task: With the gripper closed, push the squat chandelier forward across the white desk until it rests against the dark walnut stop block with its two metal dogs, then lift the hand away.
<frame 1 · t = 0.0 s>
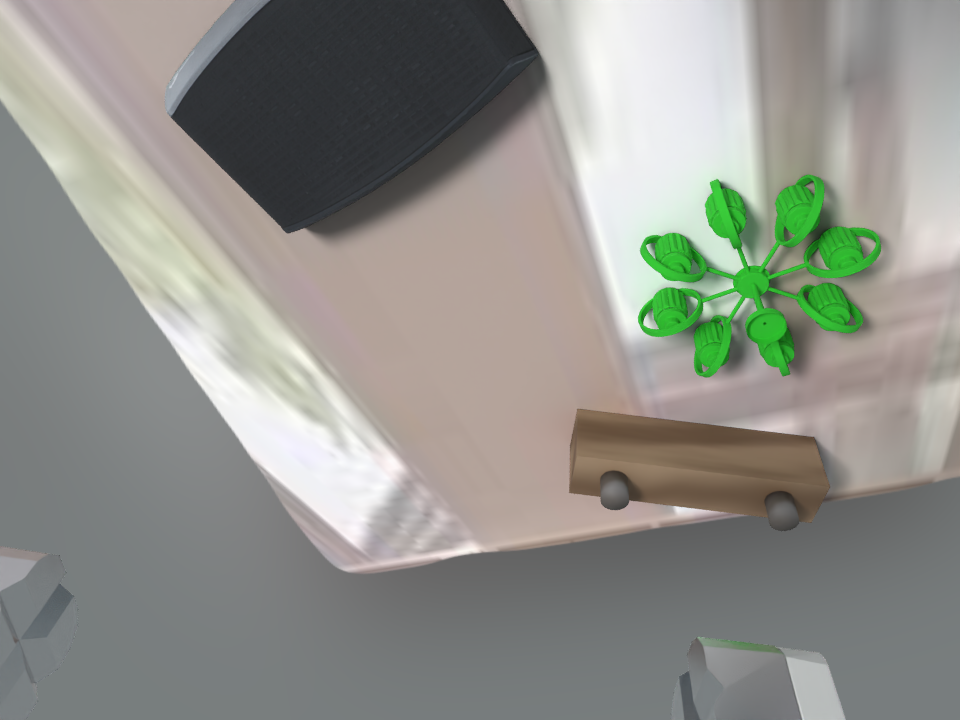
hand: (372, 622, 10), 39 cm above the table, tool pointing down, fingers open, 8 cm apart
external hard drive: (348, 66, 45), on the table
chandelier: (746, 264, 50), on the table
walnut stop block: (688, 441, 60), on the table
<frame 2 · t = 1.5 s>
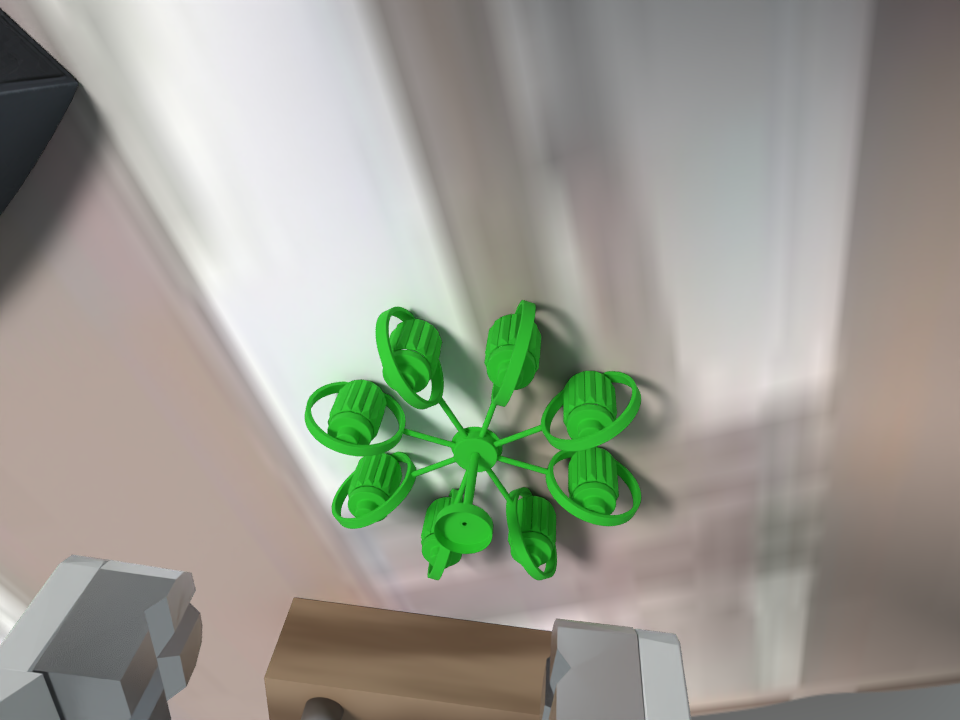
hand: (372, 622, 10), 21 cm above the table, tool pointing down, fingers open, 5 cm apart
chandelier: (481, 418, 35), on the table
walnut stop block: (452, 641, 44), on the table
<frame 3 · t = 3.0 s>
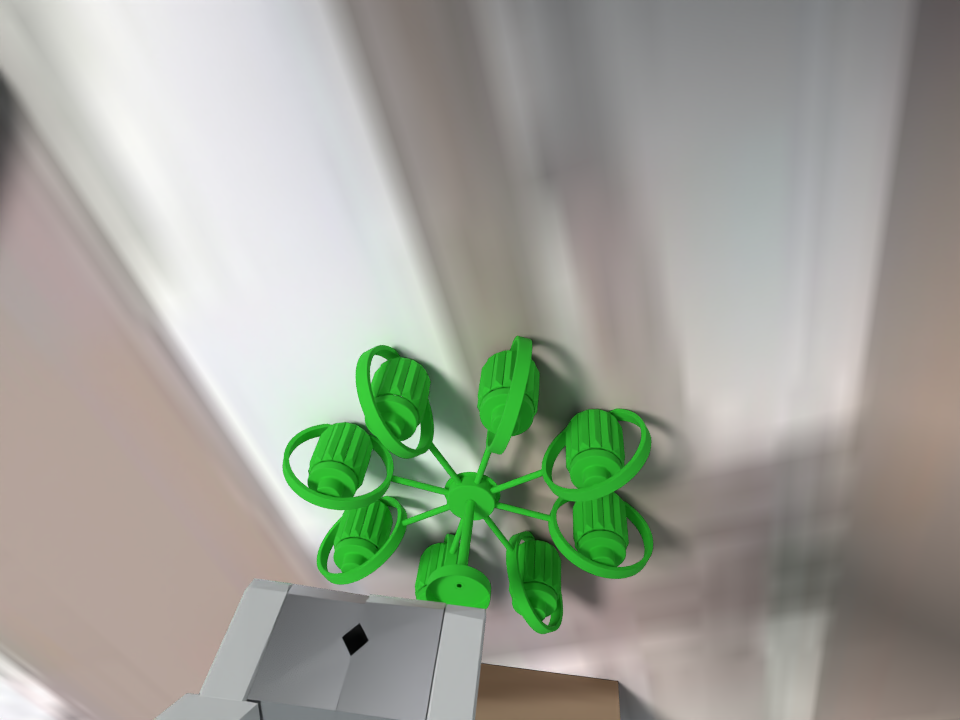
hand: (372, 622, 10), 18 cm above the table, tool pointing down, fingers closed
chandelier: (476, 459, 32), on the table
walnut stop block: (441, 681, 41), on the table
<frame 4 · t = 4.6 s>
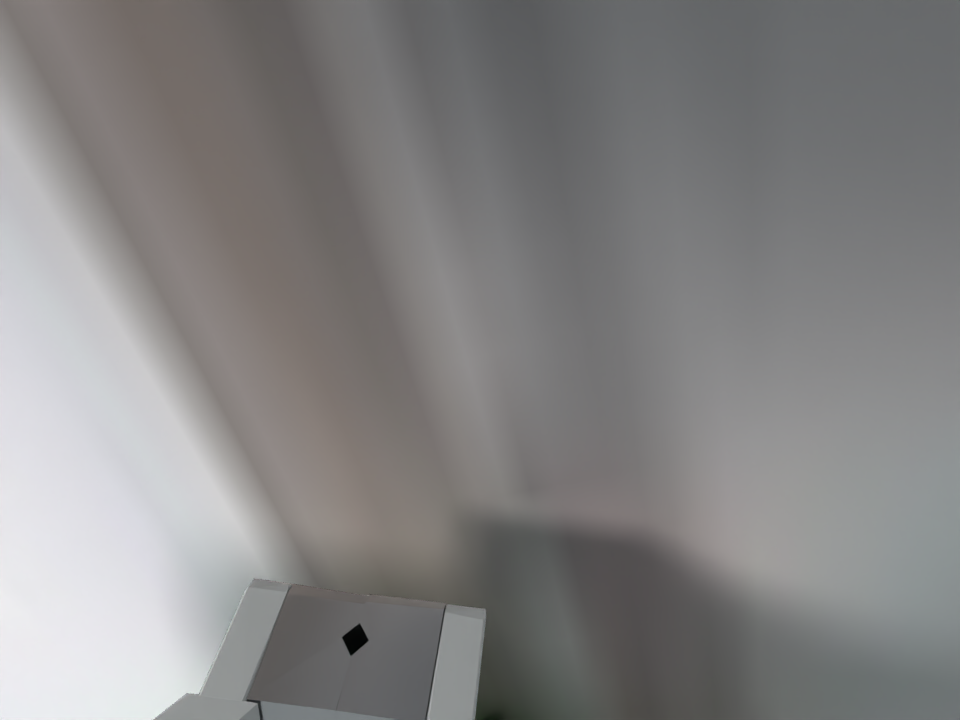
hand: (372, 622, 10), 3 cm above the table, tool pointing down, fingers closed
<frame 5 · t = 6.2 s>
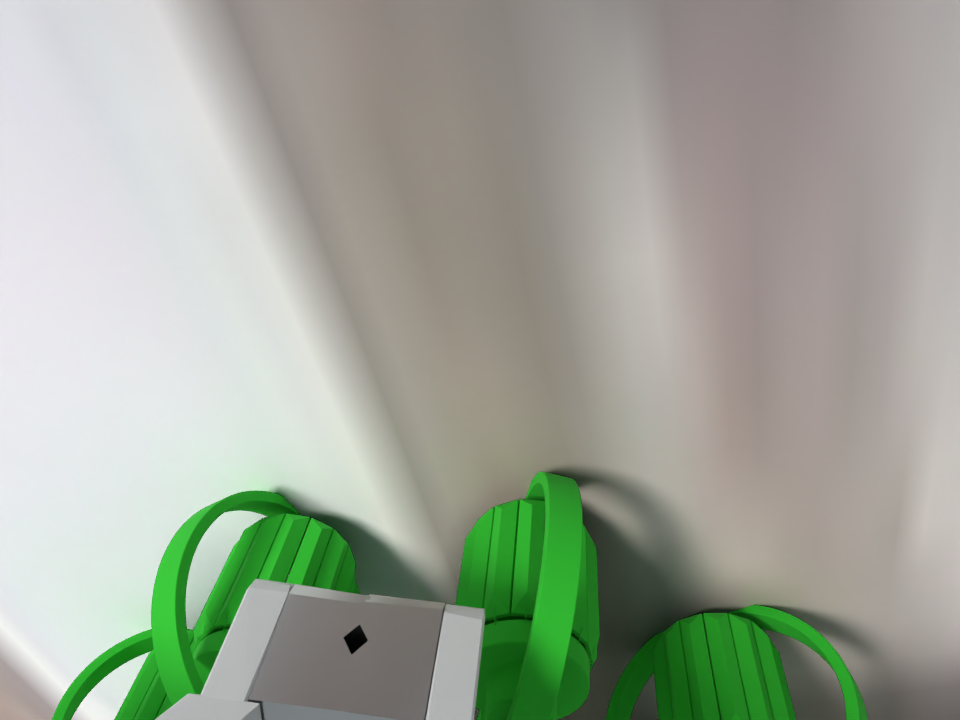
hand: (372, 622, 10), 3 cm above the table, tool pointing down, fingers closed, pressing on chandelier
chandelier: (469, 679, 17), on the table, touching gripper
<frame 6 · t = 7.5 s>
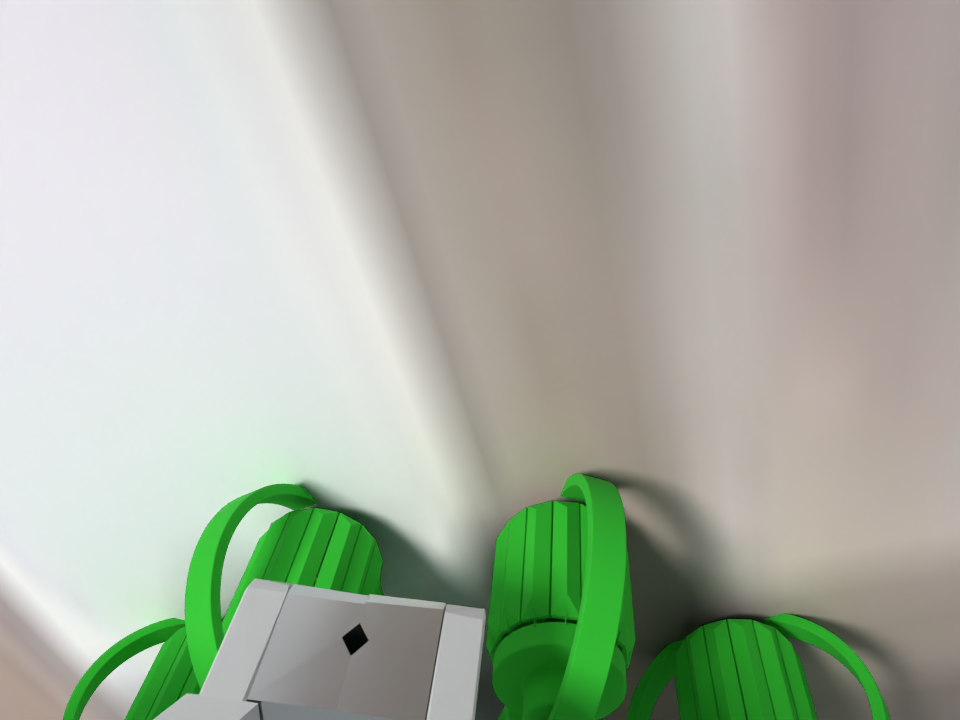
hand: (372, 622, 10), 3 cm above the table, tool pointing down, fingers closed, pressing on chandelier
chandelier: (482, 678, 17), on the table, touching gripper
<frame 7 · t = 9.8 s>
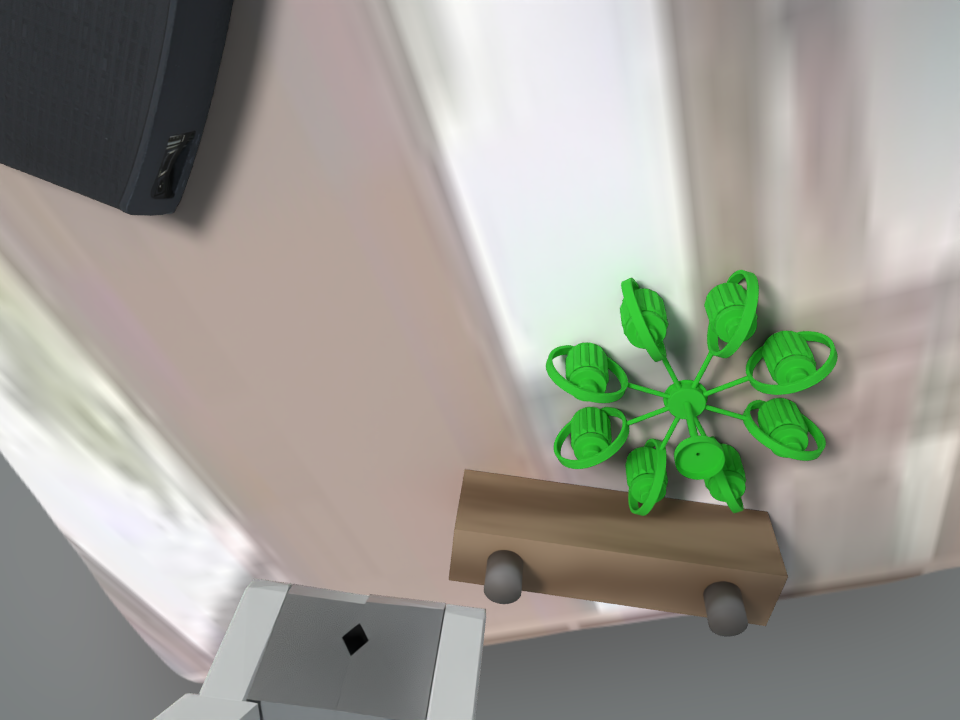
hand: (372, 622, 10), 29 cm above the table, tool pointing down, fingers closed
chandelier: (680, 376, 42), on the table
walnut stop block: (608, 515, 47), on the table
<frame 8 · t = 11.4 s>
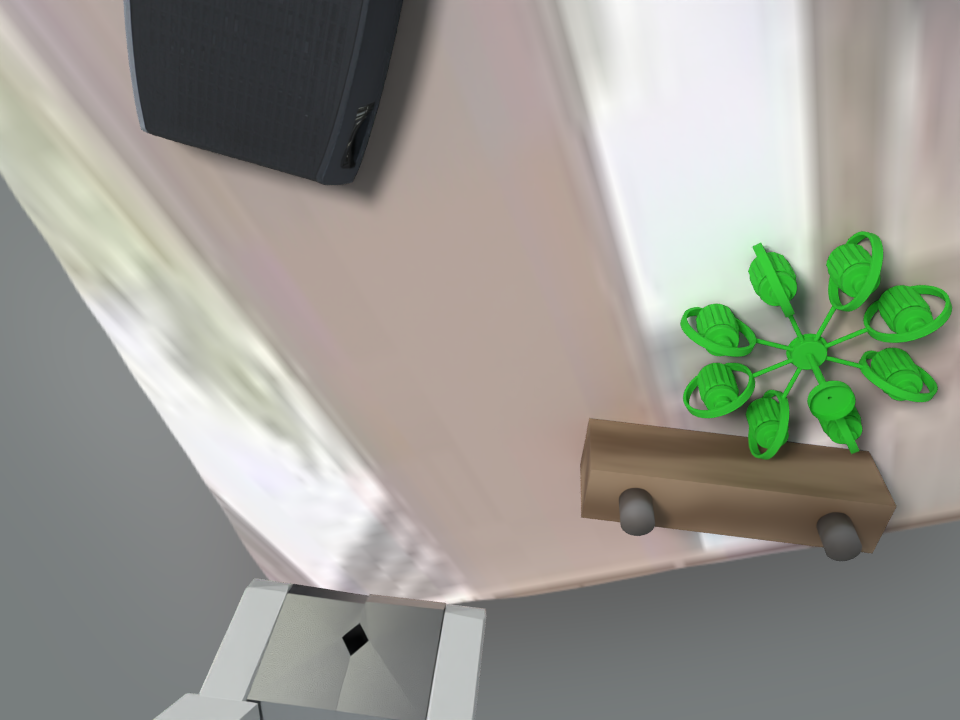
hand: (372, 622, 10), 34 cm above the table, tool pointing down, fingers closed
chandelier: (798, 332, 46), on the table
walnut stop block: (720, 458, 51), on the table
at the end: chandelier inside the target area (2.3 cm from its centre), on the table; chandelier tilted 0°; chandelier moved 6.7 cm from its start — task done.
